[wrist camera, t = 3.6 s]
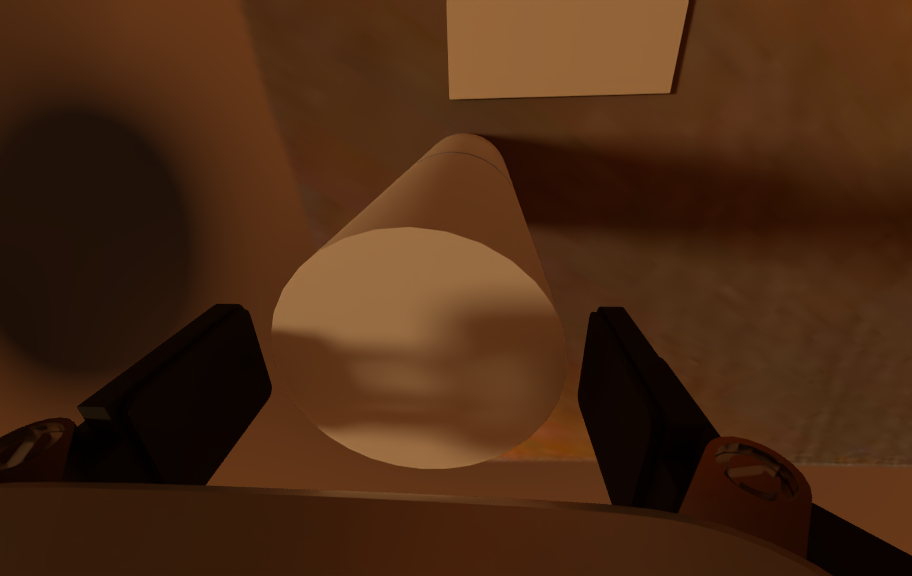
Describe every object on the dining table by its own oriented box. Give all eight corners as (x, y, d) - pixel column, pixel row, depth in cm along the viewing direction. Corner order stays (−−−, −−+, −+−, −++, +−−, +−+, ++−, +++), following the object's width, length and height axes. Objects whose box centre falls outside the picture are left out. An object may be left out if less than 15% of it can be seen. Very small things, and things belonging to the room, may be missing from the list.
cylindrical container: (478, 114, 29) (463, 155, 7) (522, 192, 31) (616, 412, 9) (405, 164, 31) (209, 324, 9) (452, 234, 34) (389, 497, 11)
